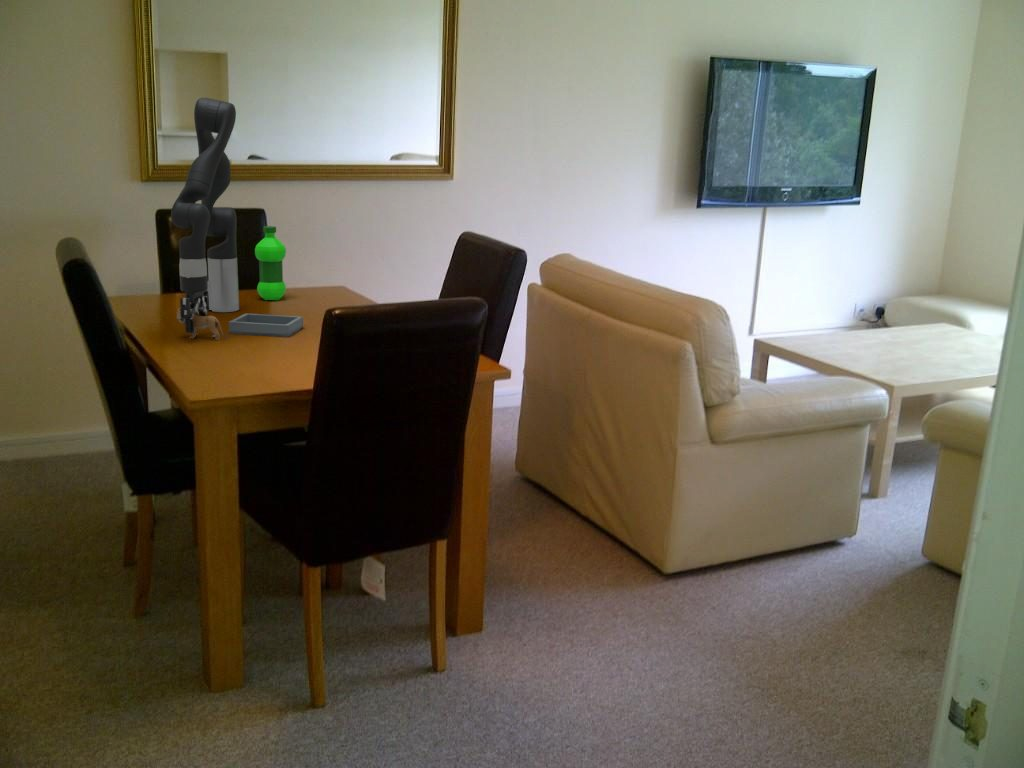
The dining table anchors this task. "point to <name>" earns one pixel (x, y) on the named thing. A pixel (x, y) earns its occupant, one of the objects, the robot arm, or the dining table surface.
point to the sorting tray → (266, 325)
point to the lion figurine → (203, 324)
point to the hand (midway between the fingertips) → (196, 329)
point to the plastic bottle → (270, 265)
